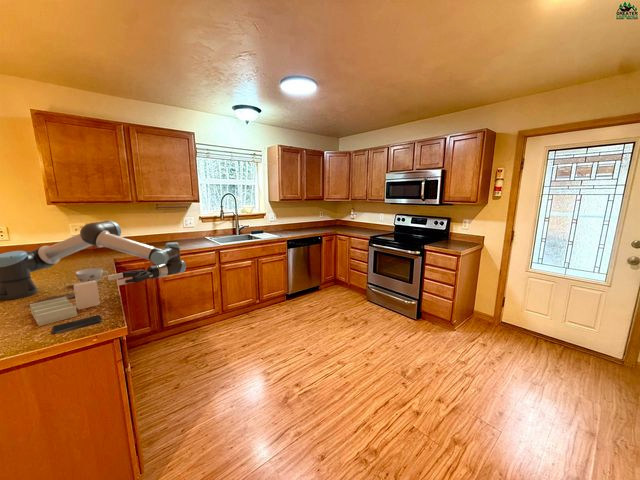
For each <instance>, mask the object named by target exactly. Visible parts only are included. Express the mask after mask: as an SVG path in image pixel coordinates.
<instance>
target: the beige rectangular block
mask: <svg viewBox="0 0 640 480" xmlns="http://www.w3.org/2000/svg"><path fill="white" fill-rule="evenodd" d="M72 286H73V291H74V292H75V297H74V298H75V306H76V310H78V311H79V310H83V309H88V308H92V307H95V306H100V305H101V302H100V296H99V294H100V293H99V286H98V281H95V280H93V281H88V282H79V283H78V282H77V283H74V284H73V285H72Z"/></svg>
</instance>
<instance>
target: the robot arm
mask: <svg viewBox="0 0 640 480" xmlns="http://www.w3.org/2000/svg"><path fill="white" fill-rule="evenodd" d="M121 235H122V229H121V226H120V225H119V224H118V223H117V222H115V221H113V220H104V221H99V222H90V223H86V224H85V225H83V226H82V227H81V229H80V231H79V234H76V235H73V236H71V237H68V238H67V239H64V240H62V241H59V242H57V243H55V244H52V245H43V246H39V247H37V248H35V249H32V250H29V251H26V250H13V251H8V252H7V251H6V252H2V253H0V301H10V300H15V299H23V298H25V297H29V296H33V295H35V294H37V293H39V291H38V286H37V285H36V284H35V282H34V281H33V280H32V277H31V273H32V272H37V271H40V270H43V269H48V268H52V267H53V266H55V265H56V264H58V263H59V262H60V261H61V259H62V258H64V257H68V256H70V255H72V254H74V253H77V252H80V251H81V250H84V249H87V248H89V247H92V246H94V247H97V248H108V249H111V250H114V251H118V252H122V253H124V254H128V255H131V256H135V257H138V258H142V259H145V260H149V261H151V263H152V264H154V265H150V266H149V265H148V267H147V269H146V270H145V269H143V268H142V269H137V270H126V271H122V272H120V273H115V274H113V273H112V274H108V275H107V280H108V281H114V280H116V286H118V287H119V286H122V285H127V284H131V283H132V284H133V283H136V284H138V283H141V282H143V281H146V280H149V279H150V280H153V279H158V278H164V277H166V276H167V277H168V276H172V275H176V274H177V275H178V274H180V273H184V272H185V271H186V269H187V265H186V262H185V261H184V260H181V248H180V244H179V242H176V241H175V242H171V241H170V242H166V243H164V244H165V245H164V248H163V249H161V248H158V247H155V246H153V245H149V244H146V243H141V242H138V241H136V240H133V239H129V238H126V237H122V236H121Z"/></svg>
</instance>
